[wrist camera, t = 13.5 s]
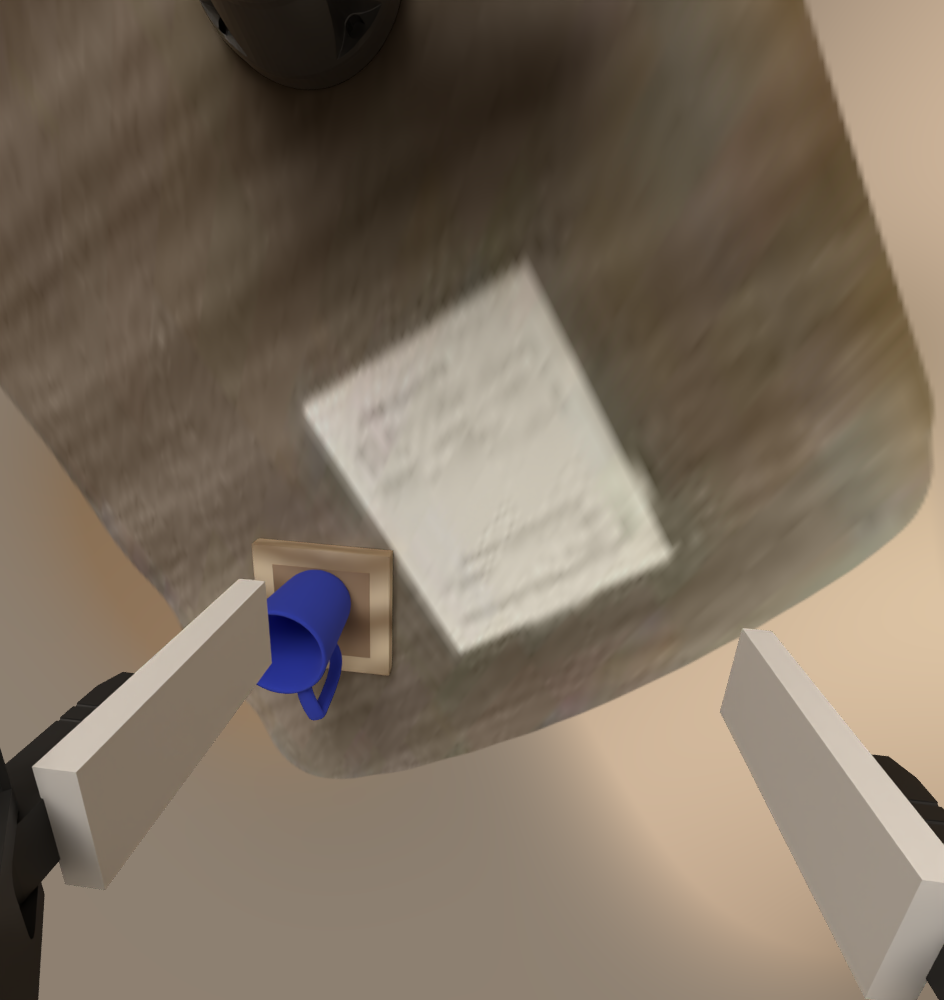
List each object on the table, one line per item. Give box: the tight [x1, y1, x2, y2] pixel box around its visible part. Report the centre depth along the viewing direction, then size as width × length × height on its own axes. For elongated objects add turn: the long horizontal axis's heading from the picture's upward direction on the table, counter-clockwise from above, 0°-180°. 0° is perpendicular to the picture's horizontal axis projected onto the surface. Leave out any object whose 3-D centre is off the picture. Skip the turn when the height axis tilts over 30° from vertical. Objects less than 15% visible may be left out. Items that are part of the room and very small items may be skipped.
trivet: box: [252, 538, 393, 676], centre depth 55 cm, size 14×14×2 cm
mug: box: [257, 570, 351, 720], centre depth 49 cm, size 8×12×10 cm
